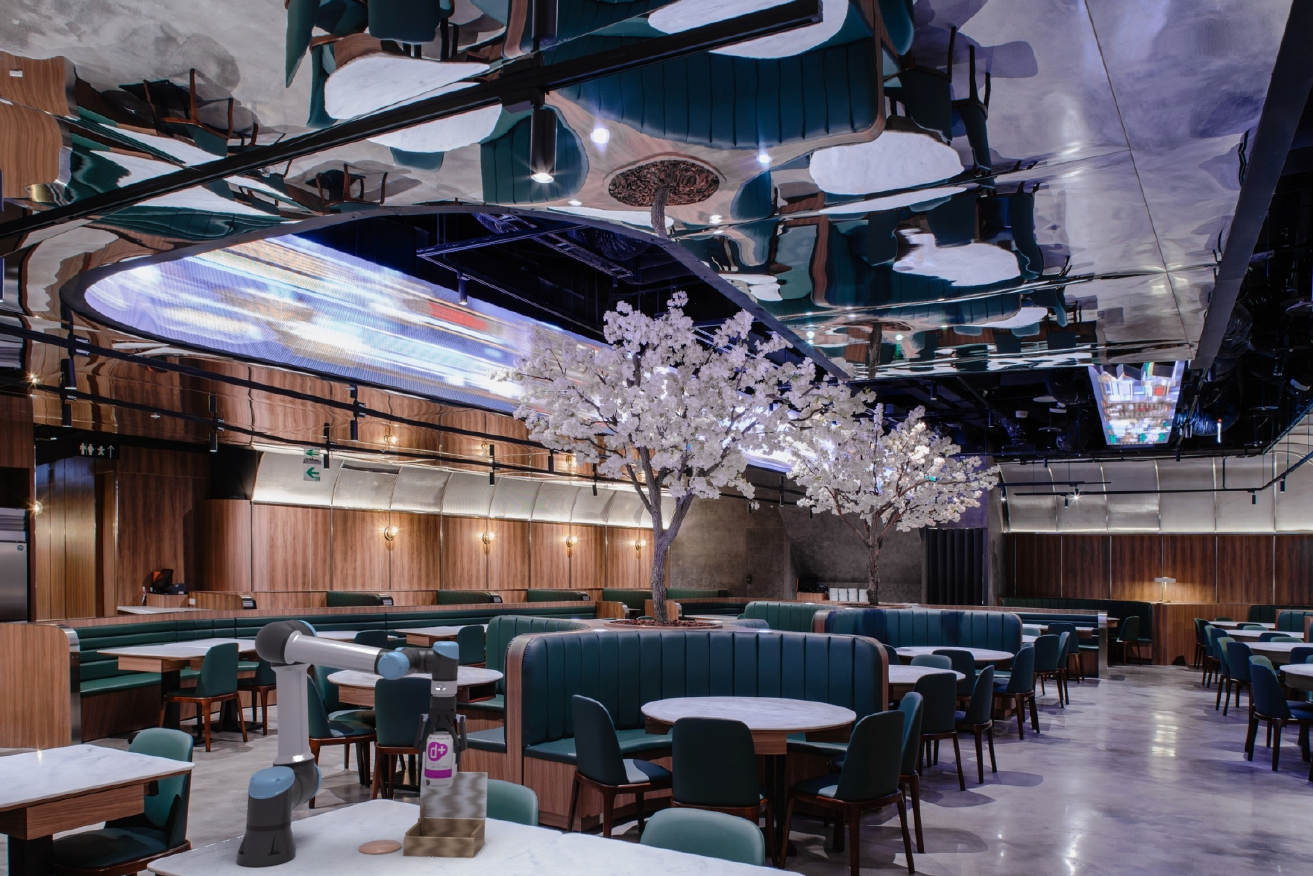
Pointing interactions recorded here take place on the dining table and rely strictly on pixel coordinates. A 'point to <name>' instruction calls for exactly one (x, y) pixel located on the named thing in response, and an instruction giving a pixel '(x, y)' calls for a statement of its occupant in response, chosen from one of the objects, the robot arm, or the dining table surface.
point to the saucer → (380, 847)
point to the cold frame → (450, 819)
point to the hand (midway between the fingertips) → (439, 775)
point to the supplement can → (439, 761)
